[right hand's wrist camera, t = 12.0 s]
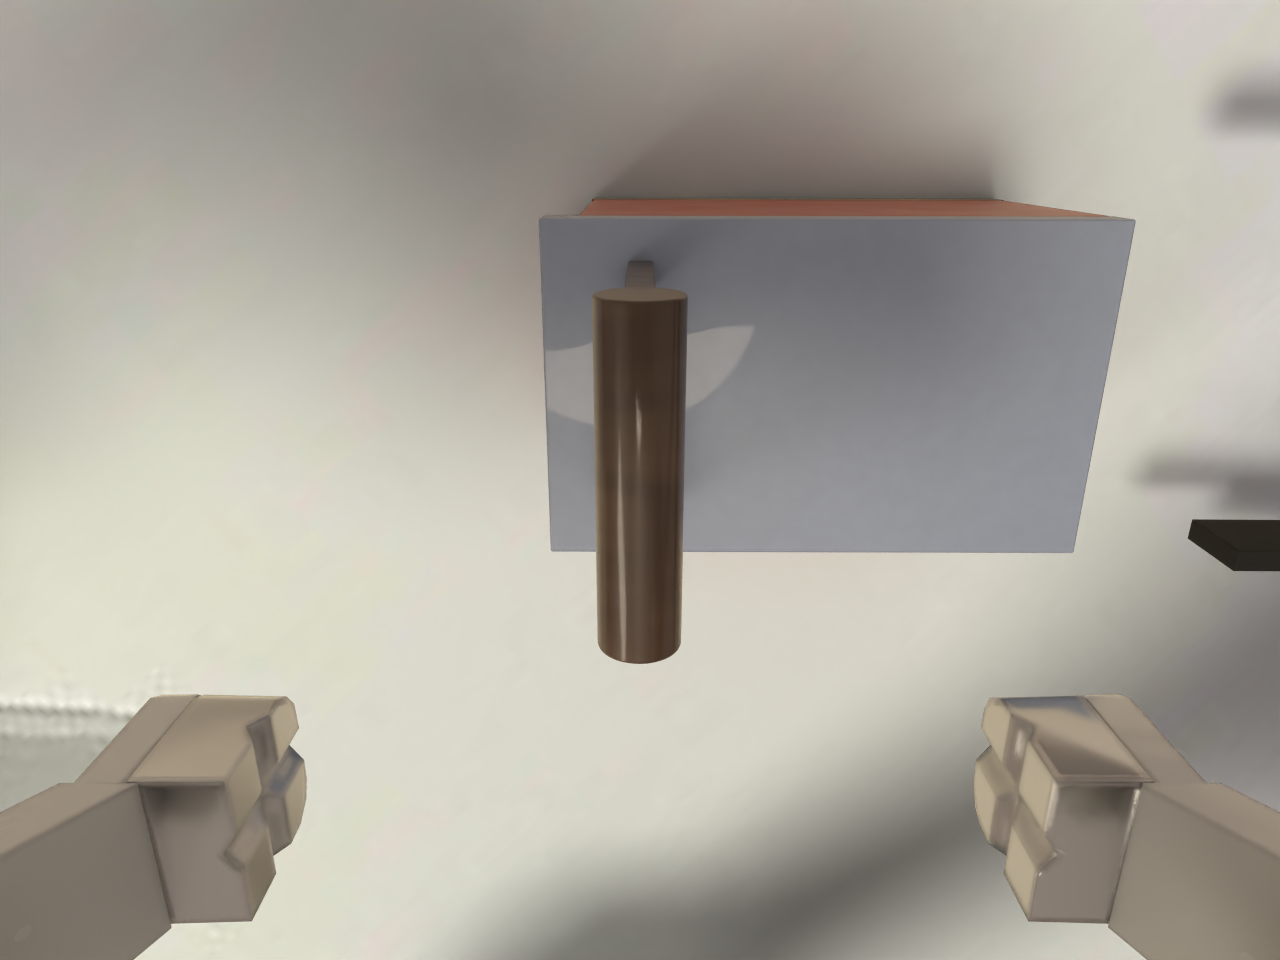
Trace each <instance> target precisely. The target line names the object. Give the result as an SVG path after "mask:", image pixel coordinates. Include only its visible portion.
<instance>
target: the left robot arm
mask: <svg viewBox="0 0 1280 960" xmlns="http://www.w3.org/2000/svg"><path fill="white" fill-rule="evenodd" d="M1188 539H1189V540H1191V541H1192V542H1194V543H1195V544H1196V545H1198V546H1199V547H1201V548H1202V549H1204V550H1205V551H1206V552H1208V553H1209V554H1211V555H1212V556H1213V557H1215V558H1216V559H1218V560H1219V561H1220V562H1222V563H1223V564H1225V565H1226V566H1227V567H1229V568H1230V569H1232V570H1233V571H1280V520H1192V523H1191V527H1190V531H1189V536H1188Z"/></svg>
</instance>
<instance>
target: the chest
mask: <svg viewBox="0 0 1280 960" xmlns="http://www.w3.org/2000/svg"><path fill="white" fill-rule="evenodd" d="M580 215H593V216H1083V217H1109V216H1105V215H1098V214H1091V213H1084V212H1077V211H1070V210H1063V209H1056V208H1049V207H1042V206H1036V205H1029V204H1022V203H1015V202H1008V201H1003V200H998V199H719V198H593V199H592V202H591V203H590V204H589V205H588V206H587V207H586V209H585V210H584V211H583V212H582V213H581V214H580Z"/></svg>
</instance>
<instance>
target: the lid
mask: <svg viewBox="0 0 1280 960" xmlns="http://www.w3.org/2000/svg"><path fill="white" fill-rule="evenodd" d="M1134 227H1135V220H1134V219H1127V218H1120V217H1083V216H593V215H545V216H543V217H542V218H540V219H539V235H540V262H541V290H542V317H543V345H544V372H545V400H546V427H547V455H548V482H549V510H550V537H551V551H596V564H597V623H598V645H599V647H600V649H601V650H602V651H603V653H605V654H606V655H607V656H609V657H611V658H613V659H615V660H618V661H621V662H626V663H634V664H645V663H653V662H657V661H661V660H664V659H666V658H668V657H670V656H672V655H673V654H674V653H675V652H676V651H677V650H678V648H679V646H680V644H681V611H682V562H683V552H955V553H1073V551H1074V545H1075V540H1076V535H1077V529H1078V524H1079V519H1080V513H1081V508H1082V503H1083V498H1084V492H1085V487H1086V482H1087V476H1088V471H1089V466H1090V460H1091V455H1092V450H1093V444H1094V439H1095V434H1096V429H1097V423H1098V418H1099V413H1100V407H1101V402H1102V397H1103V391H1104V386H1105V381H1106V376H1107V370H1108V365H1109V360H1110V354H1111V349H1112V344H1113V338H1114V333H1115V328H1116V322H1117V317H1118V312H1119V307H1120V301H1121V296H1122V291H1123V285H1124V280H1125V275H1126V269H1127V264H1128V259H1129V253H1130V248H1131V243H1132V238H1133V232H1134Z"/></svg>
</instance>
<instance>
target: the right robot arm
mask: <svg viewBox="0 0 1280 960" xmlns="http://www.w3.org/2000/svg"><path fill="white" fill-rule="evenodd" d="M298 729H299V726H298V721H297V716H296V711H295V706H294V703H293V702H292V701H291V700H290V699H289V698H288V697H284V696H236V695H203V696H201V695H159V696H156V697H153V698H150V699H149V700H148V701H147V702H146V703H145V705H144V706H143V707H142V708H141V709H140V710H139V711H138V712H137V713H136V715H135V716H134V717H133V718H132V719H131V720H130V721H129V722H128V723H127V724H126V726H125V727H124V728H123V729H122V730H121V731H120V732H119V733H118V734H117V736H116V737H115V738H114V739H113V740H112V741H111V742H110V743H109V744H108V745H107V747H106V748H105V749H104V750H103V751H102V752H101V753H100V754H99V755H98V757H97V758H96V759H95V760H94V761H93V762H92V763H91V764H90V765H89V767H88V768H87V769H86V770H85V771H84V772H83V773H82V774H81V775H80V776H79V778H78V779H77V780H76V781H75V782H74V783H59V784H57V785H55V786H53V787H51V788H49V789H47V790H44V791H42V792H40V793H38V794H36V795H34V796H32V797H30V798H28V799H26V800H24V801H22V802H20V803H18V804H16V805H14V806H12V807H10V808H8V809H6V810H4V811H2V812H0V960H133V959H135V958H136V957H137V956H138V955H139V954H141V953H142V952H143V951H144V950H145V949H147V948H148V947H149V946H150V945H151V944H153V943H154V942H155V941H156V940H158V939H159V938H160V937H161V936H162V935H164V934H165V933H166V932H167V931H168V930H170V929H171V924H173V923H208V922H242V921H252V920H253V918H254V916H255V914H256V912H257V910H258V908H259V906H260V904H261V902H262V900H263V898H264V896H265V894H266V892H267V890H268V888H269V887H270V885H271V883H272V881H273V879H274V877H275V875H276V869H275V864H274V858H273V856H274V855H275V854H277V853H278V852H280V851H281V850H282V849H284V848H285V847H287V846H288V845H290V844H291V843H292V841H293V839H294V837H295V834H296V832H297V830H298V828H299V826H300V824H301V820H302V815H303V811H304V806H305V802H306V780H307V778H306V771H305V764H304V760H303V759H302V758H301V757H300V755H299V754H298V753H297V752H296V751H295V750H294V749H293V748H292V747H291V746H290V745H289V744H290V743H291V741H292V739H293V737H294V736H295V734H296V732H297V730H298ZM981 729H982V730H983V732H984V734H985V736H986V737H987V739H988V741H989V743H990V744H991V745H990V746H989V747H988V748H987V749H986V750H985V751H984V752H983V753H982V754H981V755H980V757H979V758H978V759H977V760H976V765H975V773H974V781H973V789H974V799H975V809H976V812H977V816H978V819H979V823H980V826H981V828H982V830H983V832H984V835H985V837H986V839H987V841H988V843H989V844H990V845H992V846H993V847H995V848H996V849H998V850H999V851H1000V852H1002V853H1003V854H1005V855H1006V856H1007V858H1006V864H1005V869H1004V875H1005V877H1006V879H1007V881H1008V883H1009V885H1010V886H1011V888H1012V890H1013V892H1014V894H1015V896H1016V898H1017V900H1018V902H1019V904H1020V906H1021V908H1022V910H1023V912H1024V914H1025V916H1026V918H1027V920H1028V921H1036V922H1071V923H1107V924H1109V926H1108V927H1109V928H1110V929H1111V930H1112V931H1113V932H1115V933H1116V934H1117V935H1118V936H1119V937H1121V938H1122V939H1123V940H1124V941H1125V942H1127V943H1128V944H1129V945H1130V946H1131V947H1133V948H1134V949H1135V950H1136V951H1137V952H1139V953H1140V954H1141V955H1142V956H1143V957H1145V958H1146V959H1147V960H1280V812H1278V811H1276V810H1274V809H1272V808H1270V807H1268V806H1266V805H1264V804H1262V803H1260V802H1258V801H1256V800H1254V799H1252V798H1250V797H1248V796H1246V795H1244V794H1242V793H1240V792H1238V791H1236V790H1233V789H1231V788H1229V787H1227V786H1225V785H1223V784H1221V783H1206V782H1205V781H1204V780H1203V779H1202V778H1201V776H1200V775H1199V774H1198V773H1197V772H1196V771H1195V770H1194V769H1193V768H1192V767H1191V765H1190V764H1189V763H1188V762H1187V761H1186V760H1185V759H1184V758H1183V757H1182V755H1181V754H1180V753H1179V752H1178V751H1177V750H1176V749H1175V748H1174V747H1173V745H1172V744H1171V743H1170V742H1169V741H1168V740H1167V739H1166V738H1165V737H1164V736H1163V734H1162V733H1161V732H1160V731H1159V730H1158V729H1157V728H1156V727H1155V726H1154V724H1153V723H1152V722H1151V721H1150V720H1149V719H1148V718H1147V717H1146V716H1145V714H1144V713H1143V712H1142V711H1141V710H1140V709H1139V708H1138V707H1137V706H1136V705H1135V703H1134V702H1133V701H1132V700H1131V699H1129V698H1127V697H1125V696H1123V695H1121V694H1105V695H1077V696H1061V697H1007V698H990V699H989V701H988V703H987V705H986V707H985V709H984V714H983V720H982V726H981Z"/></svg>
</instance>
